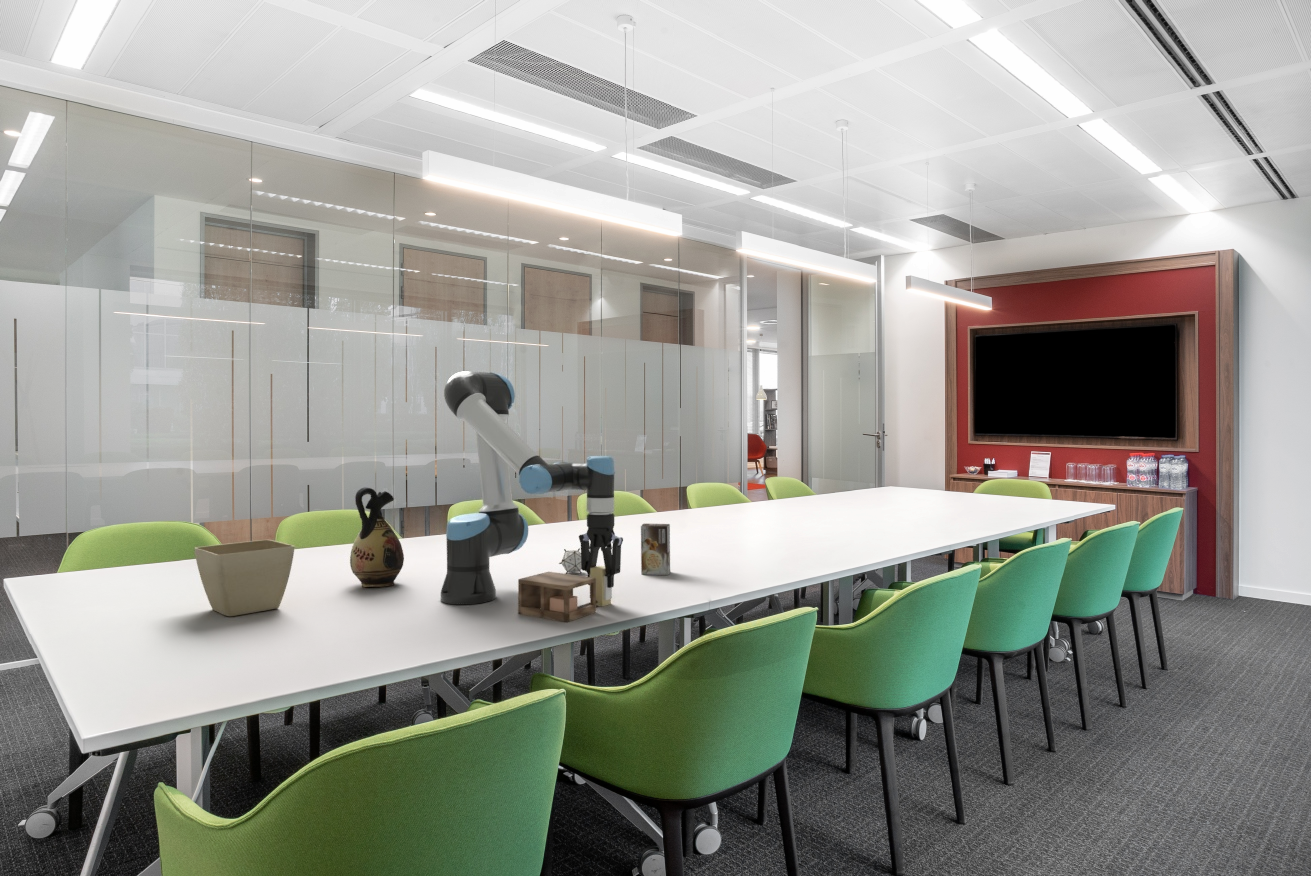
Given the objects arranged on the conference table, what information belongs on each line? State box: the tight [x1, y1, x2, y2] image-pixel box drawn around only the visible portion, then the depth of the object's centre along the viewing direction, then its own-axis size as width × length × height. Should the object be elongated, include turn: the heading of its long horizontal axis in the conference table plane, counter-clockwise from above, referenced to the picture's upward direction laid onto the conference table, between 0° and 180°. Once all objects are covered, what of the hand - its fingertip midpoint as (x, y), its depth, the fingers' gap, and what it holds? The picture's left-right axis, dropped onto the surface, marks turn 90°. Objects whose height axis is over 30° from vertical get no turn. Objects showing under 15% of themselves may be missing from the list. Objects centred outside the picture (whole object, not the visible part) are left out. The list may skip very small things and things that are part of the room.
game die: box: [558, 547, 583, 574], centre depth 253 cm, size 9×8×10 cm
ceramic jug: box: [349, 486, 405, 588], centre depth 234 cm, size 17×15×30 cm
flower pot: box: [193, 539, 296, 617], centre depth 204 cm, size 19×19×17 cm
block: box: [550, 565, 612, 612], centre depth 203 cm, size 20×5×10 cm, turn 148°
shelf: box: [517, 571, 597, 623], centre depth 200 cm, size 12×16×9 cm
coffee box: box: [640, 523, 671, 576], centre depth 253 cm, size 9×6×16 cm
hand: (600, 597), depth 210 cm, fingers closed on block, 4 cm apart
